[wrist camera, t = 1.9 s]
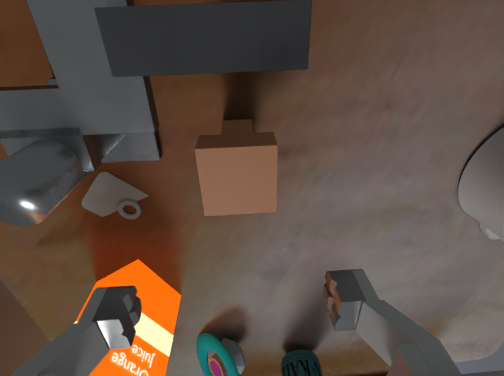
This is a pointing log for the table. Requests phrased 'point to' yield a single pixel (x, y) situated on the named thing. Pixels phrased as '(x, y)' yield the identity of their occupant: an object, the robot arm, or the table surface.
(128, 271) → the orange juice
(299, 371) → the beverage bottle
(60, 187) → the grey windowed jig
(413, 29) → the table surface
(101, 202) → the mounting bracket
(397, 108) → the table surface
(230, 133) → the brown block
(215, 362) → the ornament
